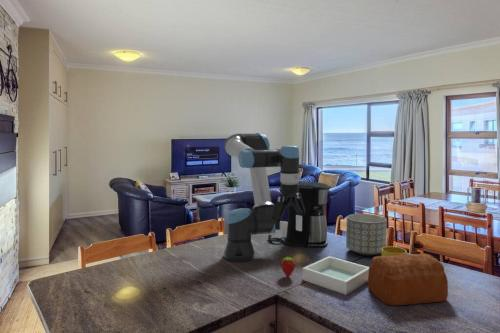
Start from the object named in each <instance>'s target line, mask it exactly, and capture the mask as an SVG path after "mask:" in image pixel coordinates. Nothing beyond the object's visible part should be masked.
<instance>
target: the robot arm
mask: <svg viewBox="0 0 500 333" xmlns="http://www.w3.org/2000/svg"><path fill="white" fill-rule="evenodd" d="M270 145H271V144H270V141H269V138H268V136H267V135H266V134H264V133H258V132H256V133H234V134H232V135H230V136H228V137H227V138H226V139H225V141H224V144H223V148H224V151H225V152H226V153H227V154H228V155H230V156H232V157H235V158H237V159H238V165H239V167H240V168H241V169H245V168H246V169H249V172H250V173H249V174H250V178H251V186H252V193H253V194H252V195H253V202H254V205H253V207H252V209H251V208H248V207H244V208H242V207H241V208H236V209H232V210H230V211H229V212H228V213H227V219H226V223H227V226H226V229H227V242H226V246H225V249H224V252H223V257H224V259H226V261H231V262H235V263H240V262H241V263H242V262H247V261H248V262H249V261H251V260H253V259H255V257H256V253H255V252H256V251H255V249H254V245H253V242H252V236H255V235H266V234H267V235H271V234H274V233H275V238H282V237H283V221H282V219H283V218H284V215H285V212H286V210H288V207H289V206H291V205H292V206H293V208H294V209H295V211H296V213H297V214H298V215H296V230H298V231H302V216H305V213H306V210H305V207H304V204H303V200H302V194H301V193H298V192H299V185H298V184H297V183H298V182H299V181H300V179H299V177H300V148H299V146H297V145H282V146H281V147H280V148H277V149H270ZM267 168H280V176H279V177H280V179H279V181H280V190H279V191H280V193H281V196H276V200H275V201H276V203H275V204H274V203H273V202H272V197H271V191H270V185H269V178H268V172H267V171H268V170H267ZM282 239H283V238H282Z"/></svg>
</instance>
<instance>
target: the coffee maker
mask: <svg viewBox="0 0 500 333" xmlns="http://www.w3.org/2000/svg"><path fill="white" fill-rule="evenodd" d="M297 184H298V185H299V192H298V193H301V194H302V200H303V204H304V207H305V210H306V213H305V216H302V231H298V230H296V215H298V214H297V213H296V211H295V209H294V208H293V206H292V205H291V206H289V207H288V208H287V211H288V212H287V213H288V216H287V217H288V218H287V226H286V236H282V238H279V237H272V234H267V235H268V237H267V239H268V240H269V241H270V242H275V243H281V242H282V243H283V245H286V246H291V247H300V248H310V247H311V248H325V247H326V246H327V245H328V241H329V240H328V225H327V218H326V213H325V210H324V208H323V206H326V204H327V202H328V196H329V191H330V189H331V188H332V186H330V185H329V184H327V183H323V182H316V181H308V180H307V181H305V180H304V181H303V180H302V181H301V180H299V182H298V183H297Z"/></svg>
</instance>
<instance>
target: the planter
mask: <svg viewBox="0 0 500 333" xmlns="http://www.w3.org/2000/svg"><path fill="white" fill-rule="evenodd" d="M387 223H388V222H387V218H386V217H385V216H381V215H376V214H371V213H370V214H368V213H352V214H349V215H347V216H346V230H345V231H346V240H345V243H346V244H345V246H346V248H347V249H348V250H350V251H352V252H353V253H355V254H357V255H359V256H364V257H372V256H375V255H378V254H381V249H382V248H383V247H387V226H388V224H387Z"/></svg>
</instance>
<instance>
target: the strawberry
mask: <svg viewBox="0 0 500 333" xmlns="http://www.w3.org/2000/svg"><path fill="white" fill-rule="evenodd" d="M295 260H296V259H295V258H294V257H293V258H291V256H290V255H288V256H286V257H283V259H282V260H281V263H280V266H281V270H282V271H283V273H284V275H285V276H286V278H289V277H290V276H291V275H292V274H293V273H294V271H295V269H296V262H295Z"/></svg>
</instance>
